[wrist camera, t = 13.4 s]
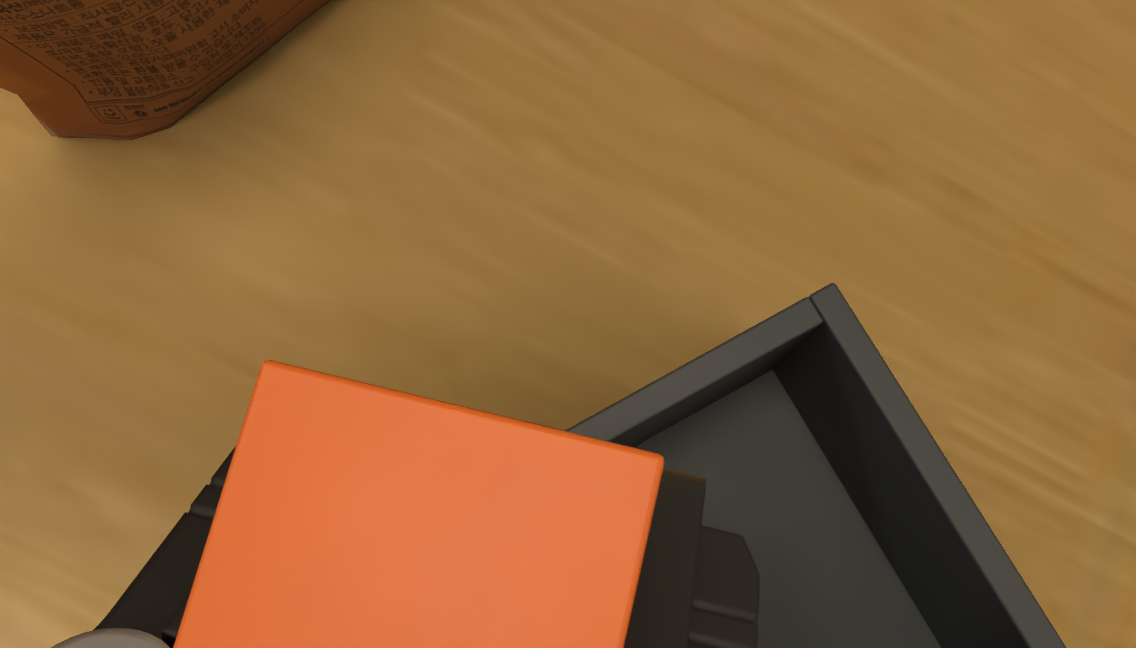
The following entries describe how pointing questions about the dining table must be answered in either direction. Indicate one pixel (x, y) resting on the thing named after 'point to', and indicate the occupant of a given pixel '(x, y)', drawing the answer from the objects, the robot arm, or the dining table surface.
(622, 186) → the dining table surface
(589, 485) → the block
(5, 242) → the dining table surface
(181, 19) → the pancake mix bag
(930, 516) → the trash bin
